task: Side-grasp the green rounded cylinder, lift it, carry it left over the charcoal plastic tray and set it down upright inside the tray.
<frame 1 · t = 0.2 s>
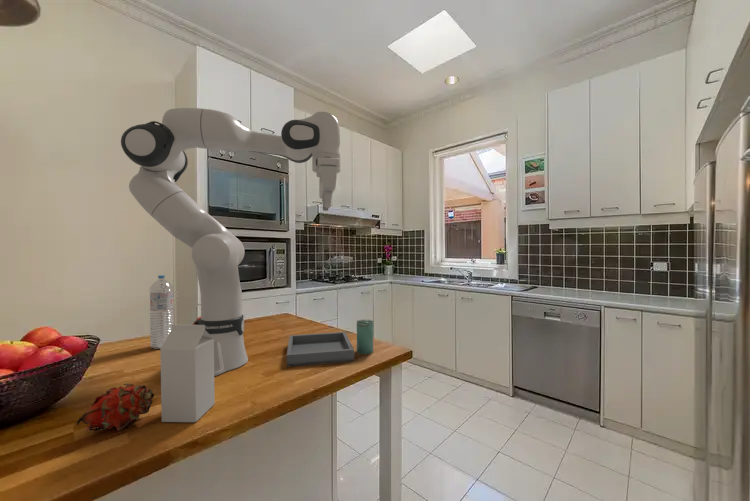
hand: (326, 209, 99), 47 cm above the counter, fingers open, 8 cm apart
water bottle: (162, 346, 109), on the counter
tray: (319, 352, 103), on the counter
milk carton: (189, 414, 66), on the counter
green rounded cylinder: (364, 351, 104), on the counter
dragon fruit: (118, 427, 61), on the counter
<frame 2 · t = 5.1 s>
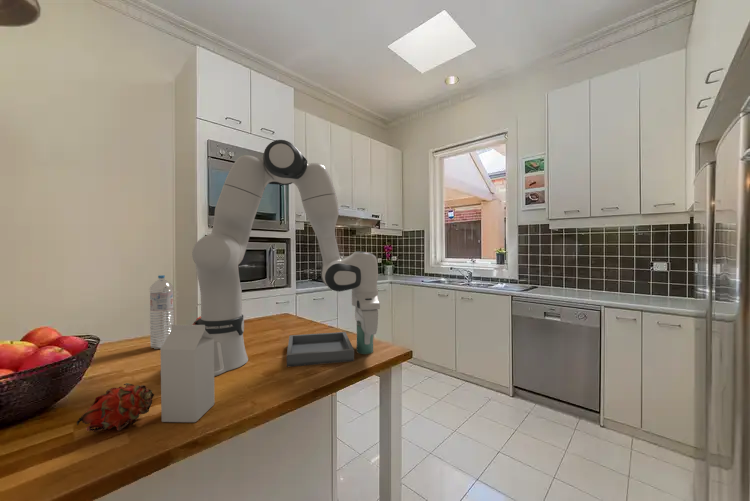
hand: (364, 340, 104), 4 cm above the counter, fingers closed on green rounded cylinder, 6 cm apart
green rounded cylinder: (364, 351, 104), on the counter, touching gripper
everything else where it was.
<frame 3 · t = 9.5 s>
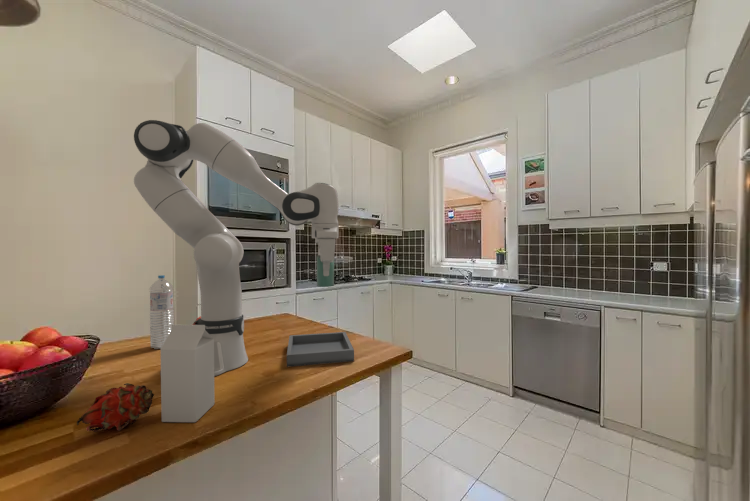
hand: (325, 274, 103), 26 cm above the counter, fingers closed on green rounded cylinder, 6 cm apart
green rounded cylinder: (325, 285, 103), point 22 cm above the counter, touching gripper
everything else where it was.
when the fingers open (5 cm above the counter, at t = 14.0 s): green rounded cylinder stays where it is, resting on tray.
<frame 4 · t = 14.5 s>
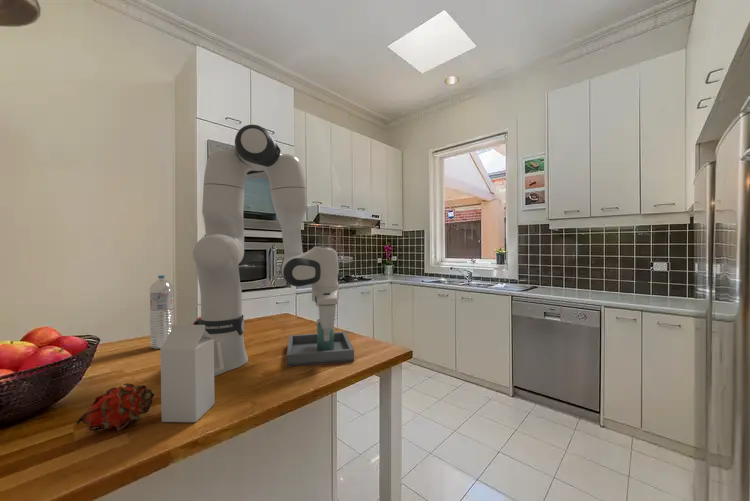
hand: (325, 336, 103), 5 cm above the counter, fingers open, 8 cm apart
green rounded cylinder: (325, 349, 103), point 1 cm above the counter, touching tray
everything else where it was.
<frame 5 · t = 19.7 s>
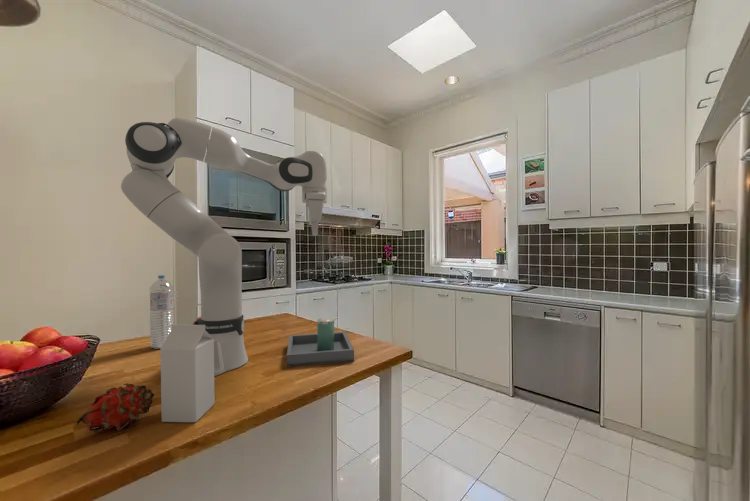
hand: (314, 235, 113), 39 cm above the counter, fingers open, 8 cm apart
nothing on the counter moved.
at the end: green rounded cylinder inside the target area on the tray (2.0 cm from its centre), point 0.8 cm above the tray's base; green rounded cylinder tilted 1°; the gripper is holding nothing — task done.
